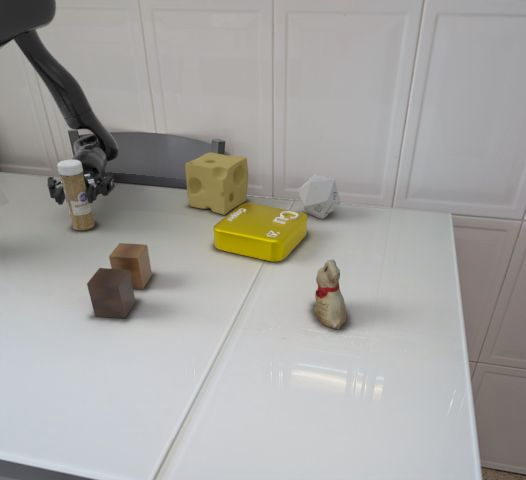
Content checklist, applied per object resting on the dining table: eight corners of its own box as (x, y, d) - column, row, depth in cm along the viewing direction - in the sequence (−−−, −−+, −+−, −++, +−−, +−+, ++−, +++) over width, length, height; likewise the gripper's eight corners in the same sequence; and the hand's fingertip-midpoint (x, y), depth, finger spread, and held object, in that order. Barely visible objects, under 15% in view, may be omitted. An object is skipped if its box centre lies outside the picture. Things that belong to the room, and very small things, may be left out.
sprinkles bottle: (86, 232, 103) (70, 167, 95) (68, 229, 104) (51, 164, 96) (99, 224, 106) (85, 160, 98) (81, 220, 108) (66, 157, 99)
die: (302, 226, 107) (333, 193, 101) (283, 195, 109) (312, 160, 103) (325, 228, 113) (356, 197, 107) (306, 199, 116) (335, 166, 109)
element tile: (245, 220, 108) (244, 198, 105) (309, 232, 103) (310, 210, 100) (210, 248, 97) (209, 225, 94) (280, 264, 92) (281, 240, 89)
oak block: (115, 287, 86) (108, 256, 82) (125, 273, 90) (119, 242, 86) (143, 289, 85) (137, 258, 82) (152, 275, 89) (147, 244, 85)
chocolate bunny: (349, 303, 82) (356, 248, 76) (343, 330, 76) (350, 273, 70) (316, 299, 83) (320, 244, 77) (307, 325, 77) (311, 268, 71)
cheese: (225, 216, 110) (222, 170, 103) (185, 206, 114) (181, 162, 108) (249, 200, 117) (248, 157, 111) (211, 192, 121) (208, 149, 115)
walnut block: (94, 316, 79) (86, 283, 75) (106, 299, 83) (99, 267, 79) (125, 318, 78) (118, 286, 75) (135, 301, 82) (129, 269, 78)
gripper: (49, 155, 109) (31, 182, 96) (116, 152, 110) (107, 179, 97) (58, 189, 114) (42, 219, 100) (121, 186, 115) (114, 215, 102)
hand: (74, 199), depth 99 cm, fingers open, 5 cm apart
